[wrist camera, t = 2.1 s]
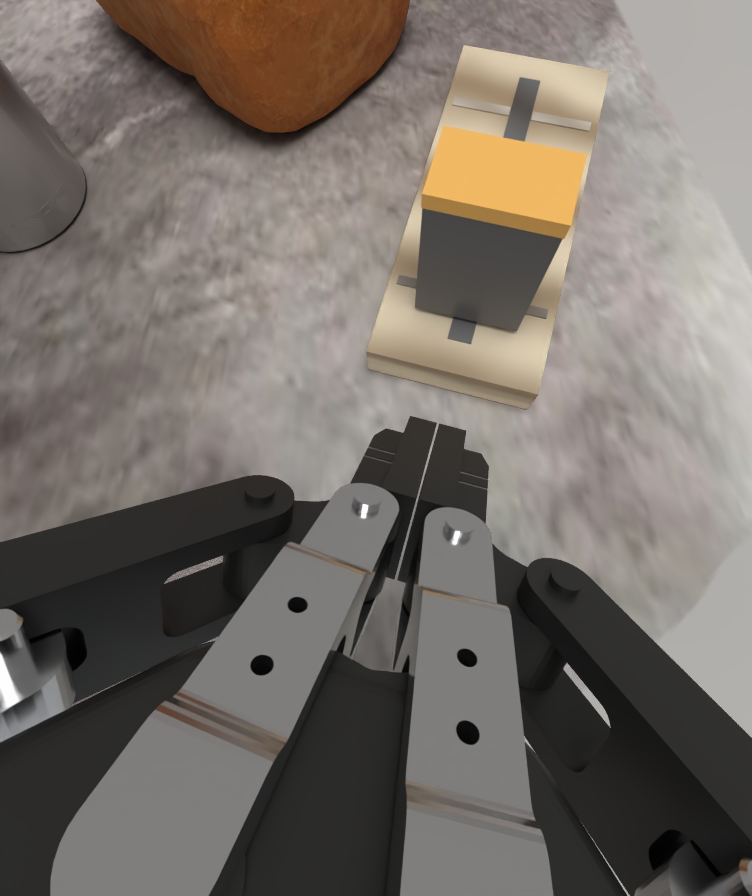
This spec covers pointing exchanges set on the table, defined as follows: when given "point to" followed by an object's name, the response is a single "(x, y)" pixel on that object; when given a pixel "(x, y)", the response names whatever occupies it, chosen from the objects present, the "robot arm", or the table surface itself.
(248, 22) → the bread
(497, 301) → the fader knob
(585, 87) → the grooved wooden slider track
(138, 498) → the table surface
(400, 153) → the table surface
